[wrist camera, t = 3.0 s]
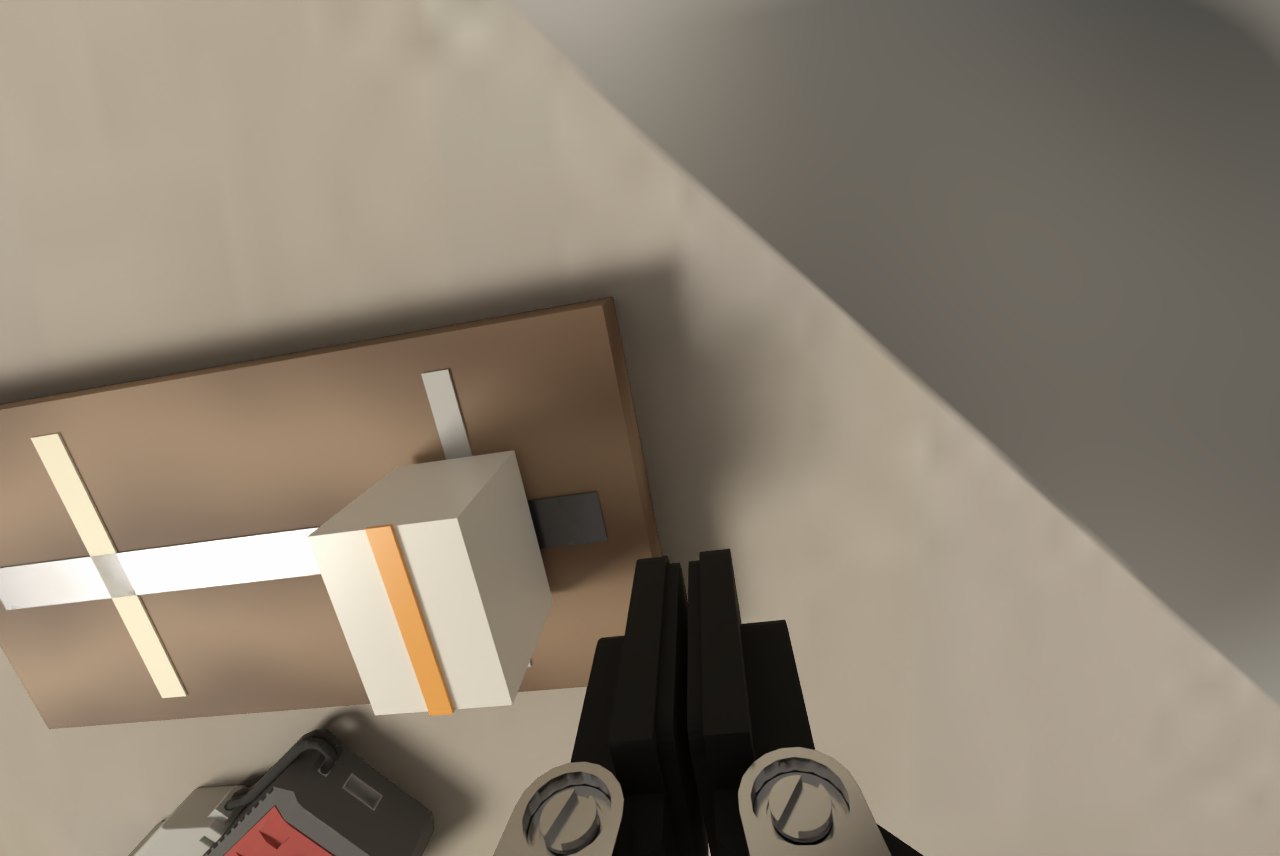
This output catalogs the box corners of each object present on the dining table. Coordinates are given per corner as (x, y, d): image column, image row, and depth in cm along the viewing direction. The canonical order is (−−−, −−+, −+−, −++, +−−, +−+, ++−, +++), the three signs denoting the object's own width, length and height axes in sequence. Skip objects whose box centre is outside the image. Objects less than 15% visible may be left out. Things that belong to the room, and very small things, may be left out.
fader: (553, 603, 18) (511, 709, 14) (443, 614, 19) (373, 719, 15) (513, 448, 17) (454, 517, 13) (395, 465, 17) (303, 537, 13)
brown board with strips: (677, 639, 21) (675, 680, 19) (98, 690, 25) (47, 730, 23) (612, 297, 18) (601, 305, 16) (-52, 413, 21) (-129, 432, 19)
